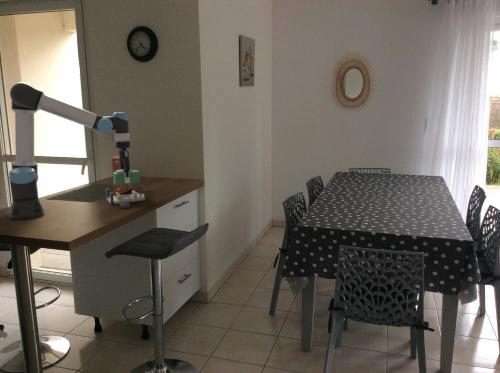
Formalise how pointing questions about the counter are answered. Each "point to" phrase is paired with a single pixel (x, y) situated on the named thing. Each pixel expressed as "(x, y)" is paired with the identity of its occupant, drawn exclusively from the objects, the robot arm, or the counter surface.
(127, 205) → the tape roll
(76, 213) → the counter surface
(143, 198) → the chassis
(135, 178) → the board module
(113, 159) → the orange cardboard box
